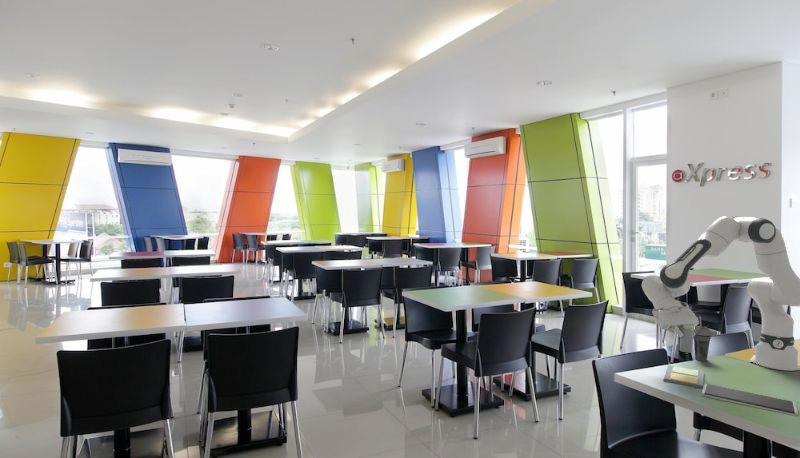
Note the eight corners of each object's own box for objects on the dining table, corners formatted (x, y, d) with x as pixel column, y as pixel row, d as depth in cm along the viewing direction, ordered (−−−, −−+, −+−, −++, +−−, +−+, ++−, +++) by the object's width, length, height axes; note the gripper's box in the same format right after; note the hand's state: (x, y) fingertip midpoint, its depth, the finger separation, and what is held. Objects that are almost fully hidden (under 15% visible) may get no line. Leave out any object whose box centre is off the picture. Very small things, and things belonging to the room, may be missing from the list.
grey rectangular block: (679, 348, 198) (680, 323, 198) (692, 350, 196) (693, 325, 195) (679, 351, 194) (680, 325, 194) (692, 353, 192) (693, 327, 192)
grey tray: (798, 418, 154) (798, 413, 154) (701, 397, 170) (701, 392, 170) (795, 406, 164) (795, 401, 164) (704, 387, 181) (704, 382, 181)
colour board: (668, 367, 203) (668, 364, 203) (703, 373, 196) (704, 370, 196) (663, 381, 185) (663, 377, 185) (702, 388, 178) (703, 385, 178)
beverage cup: (713, 362, 213) (715, 318, 213) (695, 360, 215) (697, 317, 215) (706, 357, 221) (708, 315, 220) (689, 356, 222) (690, 314, 222)
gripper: (654, 304, 197) (674, 333, 189) (689, 303, 205) (710, 330, 196) (645, 313, 202) (664, 341, 193) (680, 311, 209) (699, 338, 200)
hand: (688, 336), depth 194 cm, fingers closed on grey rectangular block, 5 cm apart
